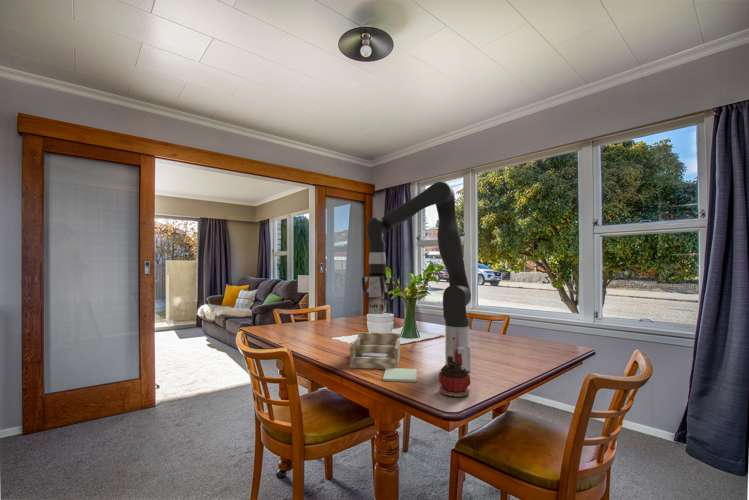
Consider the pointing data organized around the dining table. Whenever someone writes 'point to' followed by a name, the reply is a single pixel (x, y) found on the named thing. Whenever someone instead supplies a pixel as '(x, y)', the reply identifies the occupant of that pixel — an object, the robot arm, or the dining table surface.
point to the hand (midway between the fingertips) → (377, 300)
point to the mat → (400, 375)
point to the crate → (375, 350)
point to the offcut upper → (374, 355)
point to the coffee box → (377, 295)
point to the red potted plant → (454, 375)
